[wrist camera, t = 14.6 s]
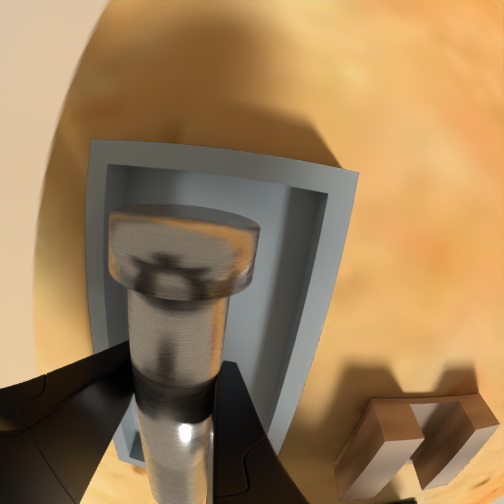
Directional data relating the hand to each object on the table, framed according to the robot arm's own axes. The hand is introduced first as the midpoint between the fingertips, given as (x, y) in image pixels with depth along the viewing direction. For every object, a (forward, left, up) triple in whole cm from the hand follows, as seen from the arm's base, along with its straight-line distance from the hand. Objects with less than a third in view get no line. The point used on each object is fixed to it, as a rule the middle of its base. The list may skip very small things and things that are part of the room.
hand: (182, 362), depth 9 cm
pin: (-2, 0, -1) cm, 2 cm away
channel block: (-7, -12, -4) cm, 15 cm away
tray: (-2, 0, -4) cm, 4 cm away
